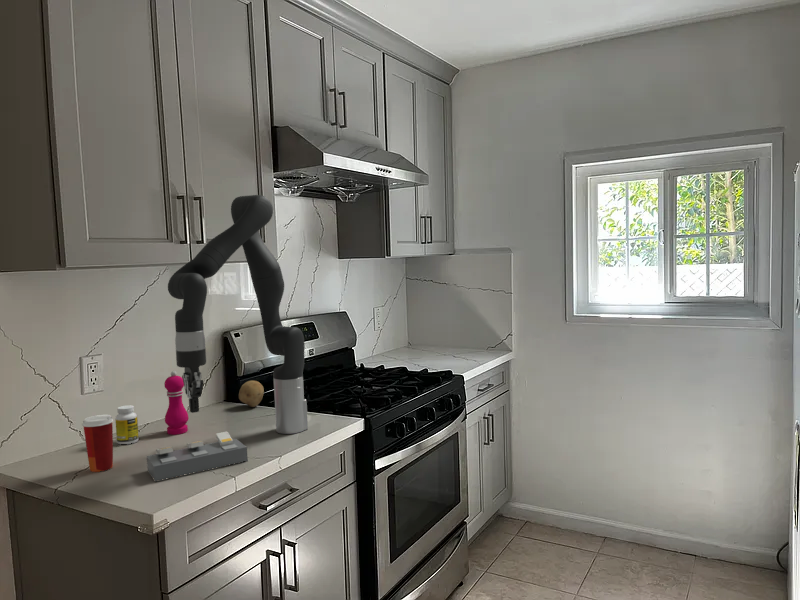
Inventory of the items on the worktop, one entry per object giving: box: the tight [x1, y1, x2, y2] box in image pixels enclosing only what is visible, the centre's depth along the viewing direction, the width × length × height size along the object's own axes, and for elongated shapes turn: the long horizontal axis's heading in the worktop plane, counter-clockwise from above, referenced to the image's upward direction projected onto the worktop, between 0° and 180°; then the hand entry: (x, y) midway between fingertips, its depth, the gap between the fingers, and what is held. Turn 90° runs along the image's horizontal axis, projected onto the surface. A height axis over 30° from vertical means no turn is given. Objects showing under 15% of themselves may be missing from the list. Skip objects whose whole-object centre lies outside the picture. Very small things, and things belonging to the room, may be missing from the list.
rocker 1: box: [155, 446, 174, 454], centre depth 162 cm, size 3×5×1 cm, turn 33°
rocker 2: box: [215, 431, 234, 446], centre depth 170 cm, size 3×5×1 cm, turn 33°
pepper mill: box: [164, 370, 189, 436], centre depth 197 cm, size 7×7×20 cm
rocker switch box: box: [146, 438, 249, 482], centre depth 165 cm, size 24×10×4 cm, turn 123°
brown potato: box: [238, 380, 265, 408], centre depth 226 cm, size 9×9×10 cm
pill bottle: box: [114, 404, 140, 445], centre depth 188 cm, size 6×6×11 cm
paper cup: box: [81, 414, 114, 473], centre depth 165 cm, size 8×8×14 cm
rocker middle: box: [186, 440, 204, 448], centre depth 166 cm, size 3×5×1 cm, turn 33°
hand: (194, 411), depth 164 cm, fingers closed
